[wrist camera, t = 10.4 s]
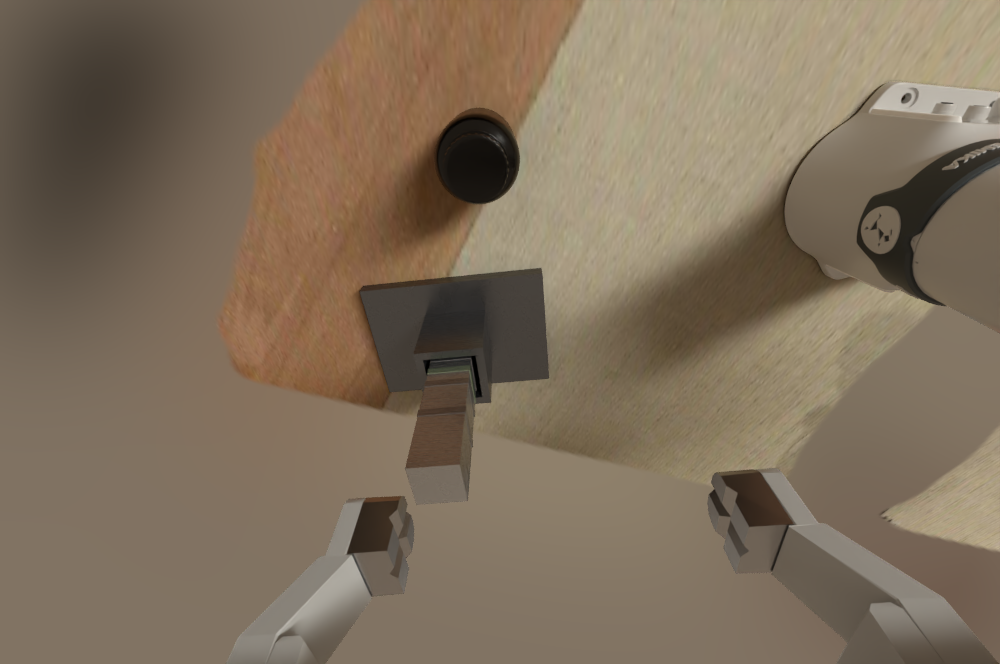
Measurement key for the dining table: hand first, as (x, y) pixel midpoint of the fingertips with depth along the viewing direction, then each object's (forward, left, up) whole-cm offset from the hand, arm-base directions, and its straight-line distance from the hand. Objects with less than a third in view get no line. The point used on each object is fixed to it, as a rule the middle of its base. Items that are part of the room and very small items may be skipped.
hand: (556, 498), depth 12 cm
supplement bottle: (+3, -4, -37) cm, 38 cm away
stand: (+8, +16, -37) cm, 41 cm away
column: (+8, +16, -30) cm, 35 cm away
